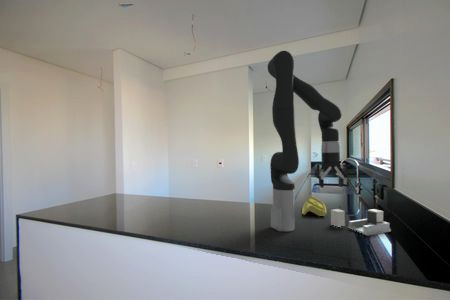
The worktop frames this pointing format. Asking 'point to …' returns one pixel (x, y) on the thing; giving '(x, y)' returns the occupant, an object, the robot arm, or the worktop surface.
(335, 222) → the block
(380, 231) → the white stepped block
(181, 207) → the worktop surface
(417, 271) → the worktop surface
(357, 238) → the worktop surface
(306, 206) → the plastic component
